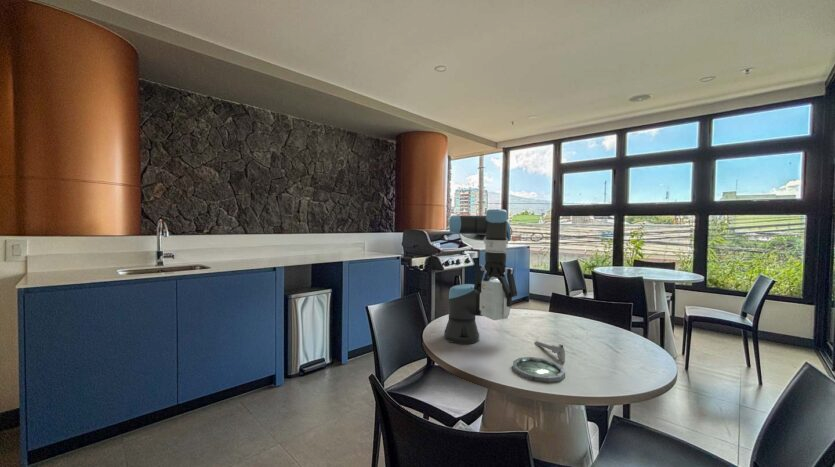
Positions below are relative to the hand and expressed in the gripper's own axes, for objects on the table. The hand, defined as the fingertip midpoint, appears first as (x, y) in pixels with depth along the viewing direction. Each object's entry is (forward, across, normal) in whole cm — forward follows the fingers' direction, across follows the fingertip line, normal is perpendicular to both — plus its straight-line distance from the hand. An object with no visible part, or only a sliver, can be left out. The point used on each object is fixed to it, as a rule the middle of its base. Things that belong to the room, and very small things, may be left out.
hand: (494, 312), depth 123 cm
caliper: (+18, +11, +23) cm, 31 cm away
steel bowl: (+17, +16, +3) cm, 24 cm away
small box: (+2, 0, 0) cm, 2 cm away
